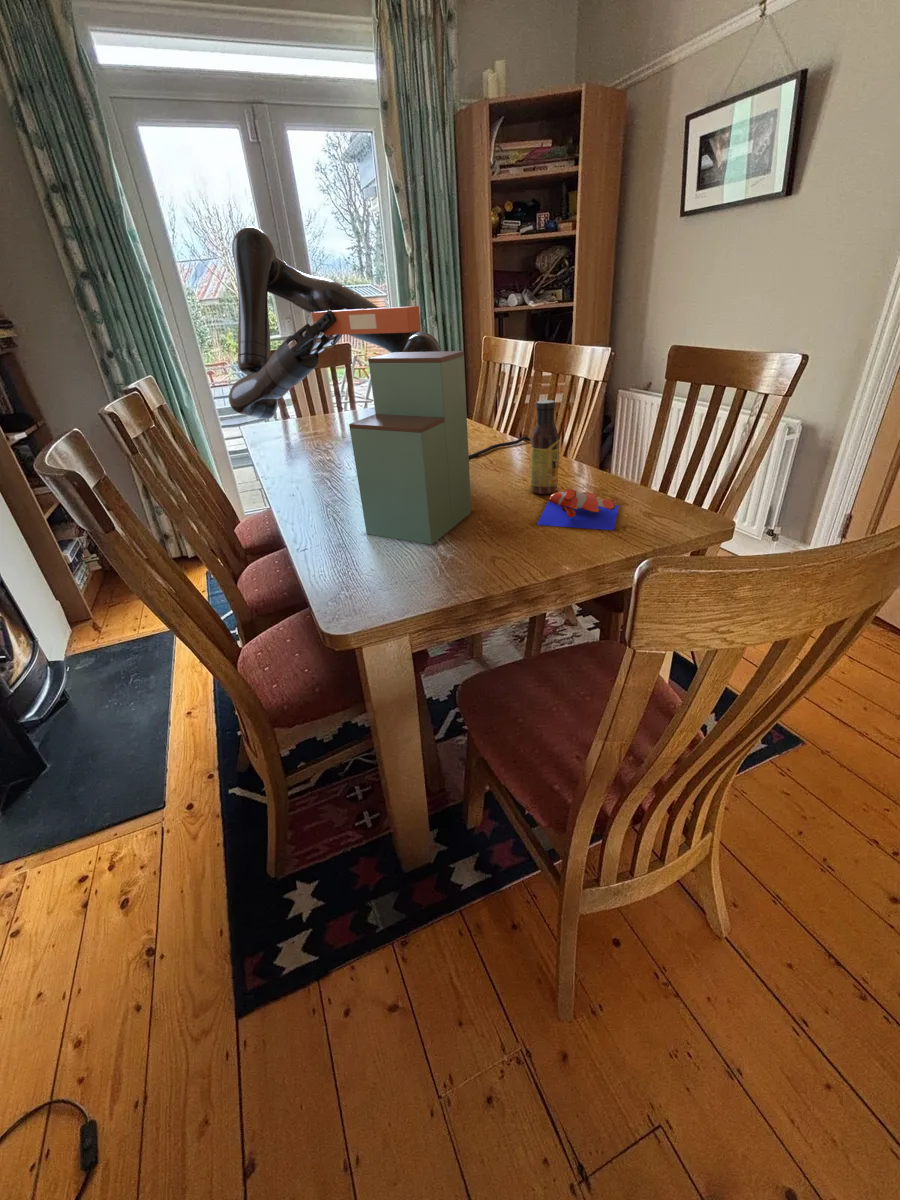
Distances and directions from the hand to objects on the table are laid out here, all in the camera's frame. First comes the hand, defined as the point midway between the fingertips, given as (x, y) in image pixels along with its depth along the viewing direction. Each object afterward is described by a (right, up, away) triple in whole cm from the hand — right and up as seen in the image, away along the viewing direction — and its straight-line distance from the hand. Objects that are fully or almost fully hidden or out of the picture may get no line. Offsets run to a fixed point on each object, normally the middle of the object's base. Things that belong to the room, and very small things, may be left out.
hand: (340, 314), depth 102 cm
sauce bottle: (+43, -30, +22) cm, 57 cm away
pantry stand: (+15, -39, +10) cm, 43 cm away
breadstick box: (+5, -4, -1) cm, 7 cm away
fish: (+48, -38, +8) cm, 61 cm away
